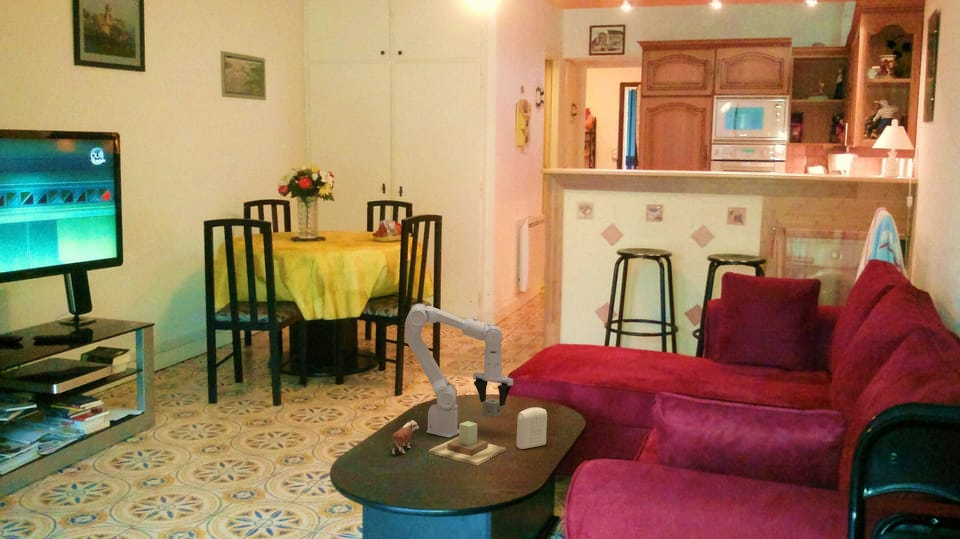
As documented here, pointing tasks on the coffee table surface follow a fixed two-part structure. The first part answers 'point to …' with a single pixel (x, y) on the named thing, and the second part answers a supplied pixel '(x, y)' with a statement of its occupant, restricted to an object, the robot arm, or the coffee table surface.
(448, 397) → the robot arm
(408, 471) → the coffee table surface
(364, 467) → the coffee table surface
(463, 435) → the sage block
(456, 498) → the coffee table surface
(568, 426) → the coffee table surface
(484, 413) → the dice cube
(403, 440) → the bull figurine
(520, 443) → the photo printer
